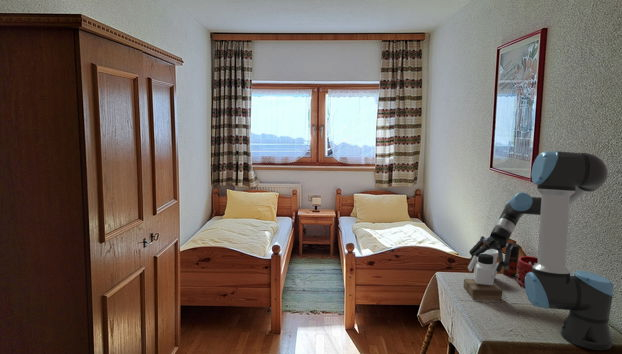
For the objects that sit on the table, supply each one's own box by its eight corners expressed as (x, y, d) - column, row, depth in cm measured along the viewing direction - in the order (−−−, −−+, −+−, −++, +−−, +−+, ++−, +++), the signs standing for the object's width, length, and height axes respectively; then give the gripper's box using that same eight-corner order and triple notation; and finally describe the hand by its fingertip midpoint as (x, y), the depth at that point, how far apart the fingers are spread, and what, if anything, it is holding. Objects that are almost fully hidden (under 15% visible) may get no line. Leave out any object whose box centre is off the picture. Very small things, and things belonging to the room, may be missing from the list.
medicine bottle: (493, 285, 186) (496, 258, 185) (475, 283, 188) (478, 256, 186) (490, 279, 193) (493, 252, 192) (473, 277, 195) (475, 251, 193)
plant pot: (513, 287, 200) (516, 261, 199) (517, 278, 212) (520, 253, 210) (546, 294, 194) (549, 267, 192) (548, 284, 205) (551, 259, 203)
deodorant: (501, 274, 215) (504, 244, 213) (504, 271, 220) (507, 242, 218) (514, 277, 212) (518, 247, 210) (517, 274, 217) (520, 244, 214)
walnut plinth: (501, 300, 185) (502, 291, 185) (472, 298, 186) (473, 289, 185) (490, 288, 197) (491, 280, 197) (463, 287, 197) (464, 278, 197)
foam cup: (473, 272, 217) (475, 246, 215) (493, 274, 216) (496, 248, 214) (476, 279, 208) (479, 252, 206) (497, 281, 206) (500, 254, 204)
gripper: (530, 242, 190) (508, 286, 182) (481, 230, 206) (459, 270, 198) (526, 232, 185) (504, 276, 177) (476, 220, 202) (454, 260, 194)
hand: (480, 273), depth 188 cm, fingers closed on medicine bottle, 10 cm apart
